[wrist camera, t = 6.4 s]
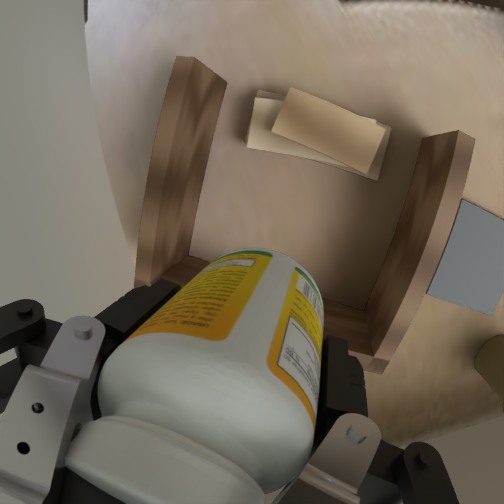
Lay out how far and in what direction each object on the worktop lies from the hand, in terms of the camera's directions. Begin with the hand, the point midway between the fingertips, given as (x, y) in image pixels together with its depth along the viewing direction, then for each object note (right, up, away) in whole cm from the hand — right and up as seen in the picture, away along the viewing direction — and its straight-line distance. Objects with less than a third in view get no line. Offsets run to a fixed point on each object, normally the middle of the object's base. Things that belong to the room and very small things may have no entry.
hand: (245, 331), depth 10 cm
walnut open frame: (+5, +8, +16) cm, 19 cm away
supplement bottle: (+1, +1, +2) cm, 2 cm away
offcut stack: (+6, +13, +14) cm, 21 cm away
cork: (+31, -10, +16) cm, 36 cm away
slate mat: (+24, +2, +14) cm, 27 cm away
